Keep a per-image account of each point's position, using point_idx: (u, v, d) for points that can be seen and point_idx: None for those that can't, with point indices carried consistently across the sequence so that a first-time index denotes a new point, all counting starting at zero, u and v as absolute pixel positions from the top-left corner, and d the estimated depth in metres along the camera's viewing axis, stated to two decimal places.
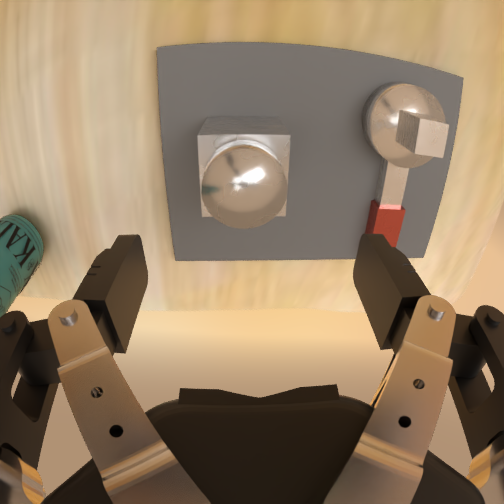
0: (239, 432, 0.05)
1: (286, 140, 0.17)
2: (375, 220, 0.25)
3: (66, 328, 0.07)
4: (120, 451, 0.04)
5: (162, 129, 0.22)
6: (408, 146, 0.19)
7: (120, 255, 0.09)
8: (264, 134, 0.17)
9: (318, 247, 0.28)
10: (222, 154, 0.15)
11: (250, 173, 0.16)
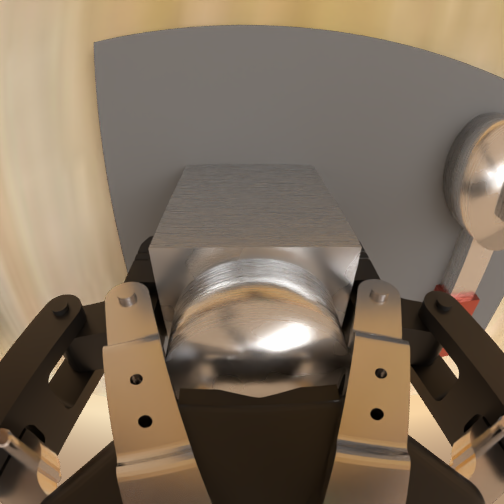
0: (239, 432, 0.05)
1: (351, 257, 0.08)
2: None
3: (128, 309, 0.07)
4: (142, 442, 0.04)
5: (111, 187, 0.13)
6: None
7: None
8: (303, 245, 0.07)
9: None
10: (204, 325, 0.06)
11: (273, 361, 0.06)
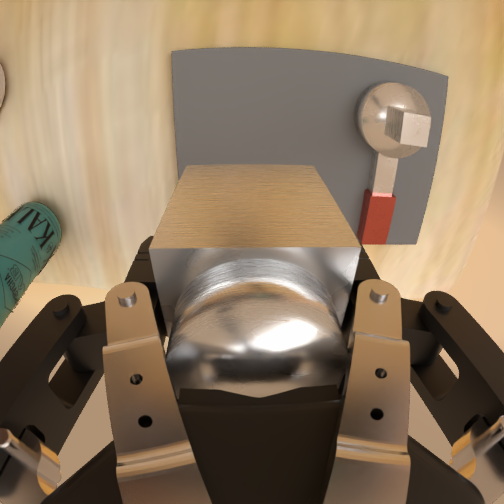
0: (239, 432, 0.05)
1: (350, 257, 0.08)
2: (368, 207, 0.27)
3: (128, 309, 0.07)
4: (142, 442, 0.04)
5: (176, 124, 0.24)
6: (394, 137, 0.21)
7: None
8: (303, 245, 0.07)
9: None
10: (204, 325, 0.06)
11: (273, 361, 0.07)
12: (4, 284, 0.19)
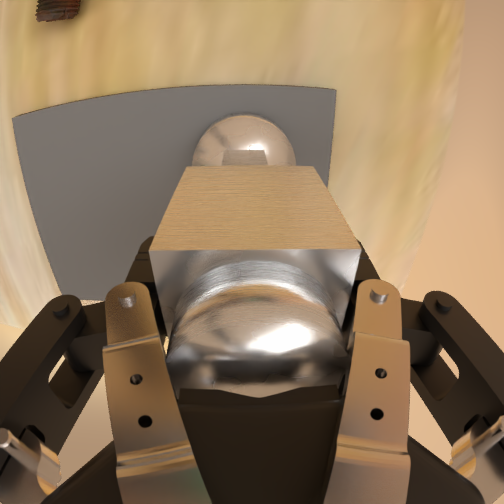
0: (239, 432, 0.05)
1: (351, 259, 0.08)
2: None
3: (127, 309, 0.07)
4: (143, 441, 0.04)
5: (27, 190, 0.21)
6: None
7: None
8: (303, 247, 0.07)
9: None
10: (204, 327, 0.06)
11: (273, 363, 0.06)
12: None
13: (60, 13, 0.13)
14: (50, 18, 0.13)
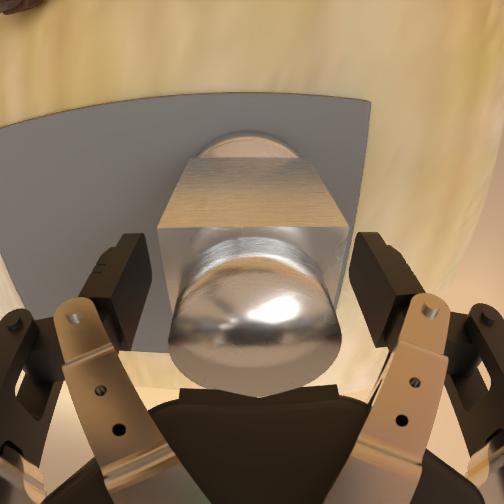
0: (239, 432, 0.05)
1: (340, 236, 0.08)
2: None
3: (72, 325, 0.07)
4: (121, 450, 0.04)
5: None
6: None
7: (125, 253, 0.10)
8: (296, 225, 0.08)
9: None
10: (206, 292, 0.07)
11: (269, 328, 0.07)
12: None
13: (17, 0, 0.08)
14: (5, 8, 0.08)
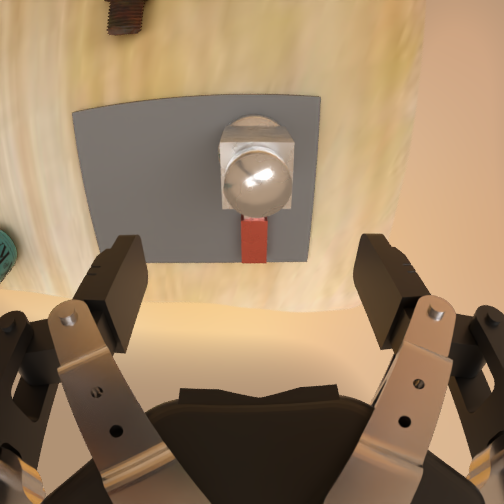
0: (239, 432, 0.05)
1: (291, 146, 0.21)
2: (241, 230, 0.32)
3: (66, 328, 0.07)
4: (119, 450, 0.04)
5: (82, 170, 0.29)
6: None
7: (120, 255, 0.09)
8: (273, 142, 0.21)
9: (204, 253, 0.35)
10: (240, 158, 0.19)
11: (262, 173, 0.20)
12: None
13: (130, 29, 0.20)
14: (121, 32, 0.20)
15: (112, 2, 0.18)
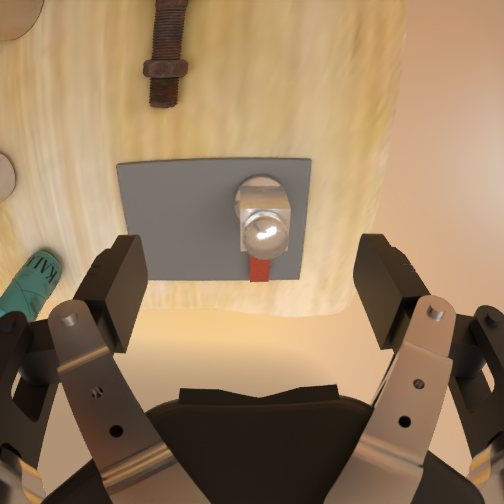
0: (239, 432, 0.05)
1: (288, 211, 0.32)
2: (250, 258, 0.43)
3: (66, 328, 0.07)
4: (119, 451, 0.04)
5: (124, 210, 0.40)
6: None
7: (120, 255, 0.09)
8: (276, 208, 0.32)
9: (220, 273, 0.46)
10: (255, 222, 0.30)
11: (269, 232, 0.31)
12: (29, 308, 0.35)
13: (169, 105, 0.31)
14: (162, 107, 0.31)
15: (153, 80, 0.29)
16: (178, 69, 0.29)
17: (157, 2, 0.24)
